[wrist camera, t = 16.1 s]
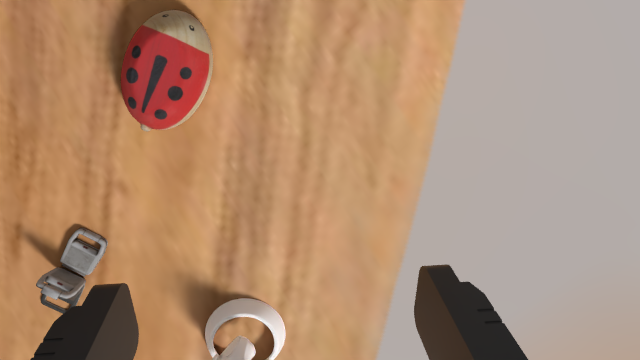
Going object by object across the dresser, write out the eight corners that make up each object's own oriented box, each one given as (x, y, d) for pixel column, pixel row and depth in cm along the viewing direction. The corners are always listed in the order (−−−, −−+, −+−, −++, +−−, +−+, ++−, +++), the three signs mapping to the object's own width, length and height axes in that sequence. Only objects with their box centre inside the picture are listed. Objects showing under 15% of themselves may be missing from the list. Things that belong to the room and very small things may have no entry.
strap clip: (80, 223, 37) (53, 241, 33) (112, 239, 38) (90, 259, 34) (41, 299, 39) (10, 325, 35) (72, 313, 39) (46, 341, 35)
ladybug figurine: (228, 29, 34) (220, 24, 31) (193, 143, 36) (182, 150, 33) (145, -3, 33) (128, -12, 30) (114, 116, 35) (95, 120, 32)
